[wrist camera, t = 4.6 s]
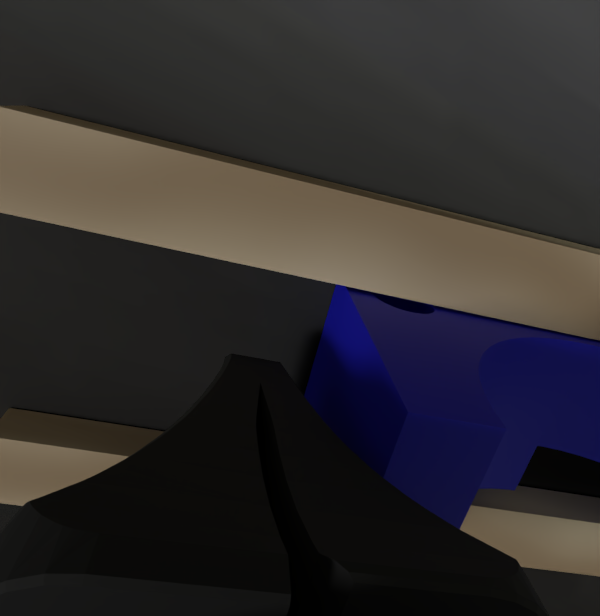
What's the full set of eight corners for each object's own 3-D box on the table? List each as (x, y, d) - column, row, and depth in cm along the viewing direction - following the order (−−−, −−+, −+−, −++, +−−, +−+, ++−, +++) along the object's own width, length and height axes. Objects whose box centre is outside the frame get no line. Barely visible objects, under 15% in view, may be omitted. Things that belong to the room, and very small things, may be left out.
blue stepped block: (296, 423, 14) (323, 635, 8) (338, 273, 12) (408, 411, 7) (661, 481, 16) (876, 682, 10) (738, 358, 14) (1039, 518, 9)
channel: (661, 556, 17) (754, 660, 14) (6, 468, 14) (-70, 582, 10) (830, 306, 14) (1002, 367, 11) (25, 105, 10) (-79, 107, 7)
